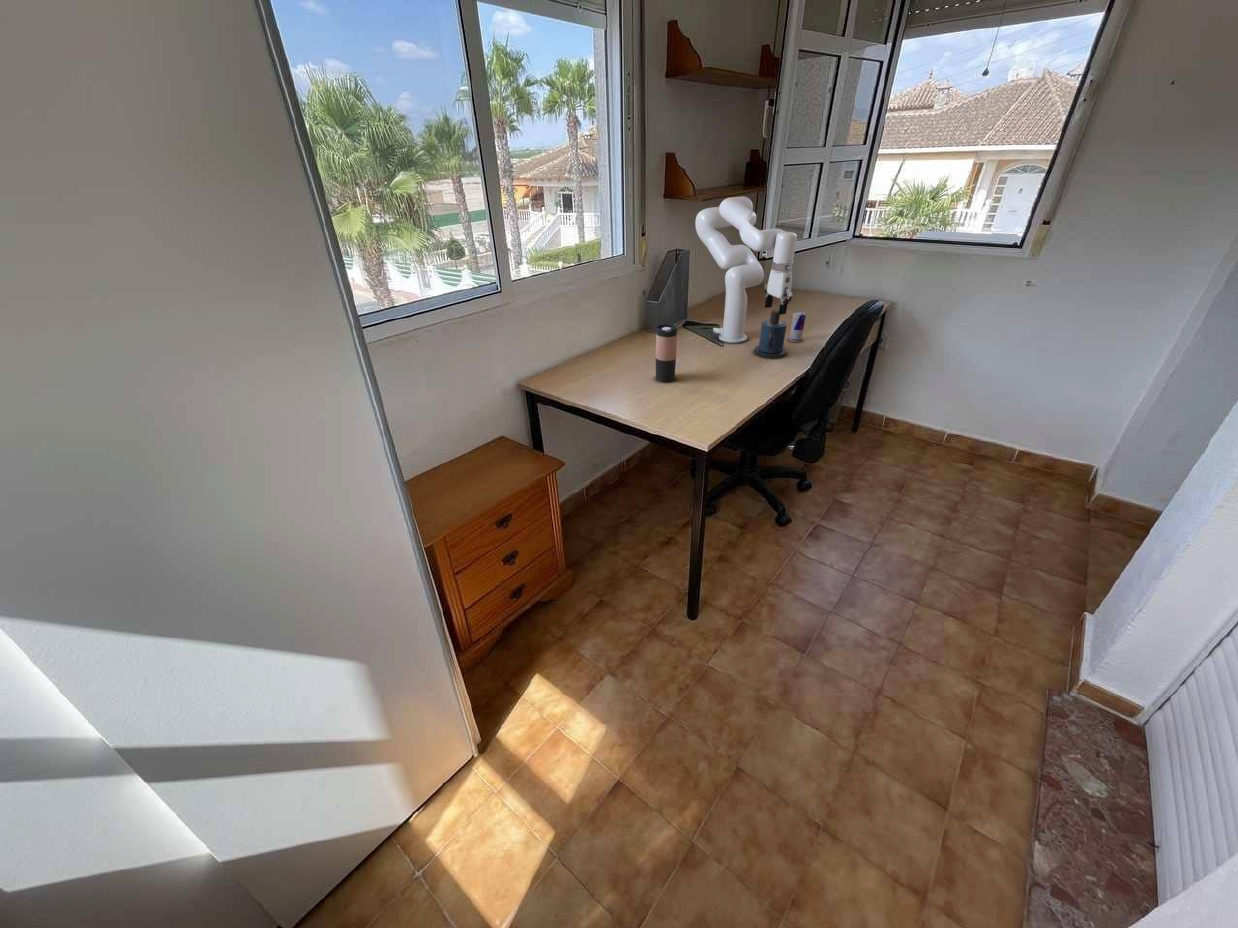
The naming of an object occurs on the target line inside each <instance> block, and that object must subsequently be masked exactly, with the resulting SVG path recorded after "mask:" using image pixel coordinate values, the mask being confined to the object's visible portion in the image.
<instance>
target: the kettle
mask: <svg viewBox="0 0 1238 928" xmlns="http://www.w3.org/2000/svg"><path fill="white" fill-rule="evenodd" d="M769 317H770V318H769V319H765V320H762V321H761V324H760V333H759V341H758V346H759V347H758V349H759V350H760V351H763V352H766V353H779V352H781V351H783V348H784V345H785V338H786V332H787V325H788V324H787V322H786V321H783V320H780V318H781V315H779V309H773V310H771V311H770V316H769Z"/></svg>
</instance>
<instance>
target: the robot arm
mask: <svg viewBox="0 0 1238 928" xmlns="http://www.w3.org/2000/svg"><path fill="white" fill-rule="evenodd" d="M753 205H754V204H753V202H752V200H751V199H750V198H749V197H748V196H733V197H731V196H730V197H726V198H724V199H723V200H722V201H721V203H720V204H719V206H714V207H713V206H712V207H706V208H704V209H702V210H700V211H699V212H697V214H696V217H695V222H694V223H695V231H696V234H697V236H698V238H699V239H700V241H701V242H702V243H703V245H704V246H705V247H706V248H707V250H708V251H709V253H710V255H711V256H712V258H713V260H714V261H715V262H716V264H717V265H718V267H719V268H720V269H721V270H724V271H726V272H725V275H724V286H725V301H724V312H723V324H722V327H720V328H719V327H713V329H712V332H713V333H714V334H719V335H718V340H720V341H722V342H724V343H728V344H740V343H743V342H746V341H747V340H748V336H747V335H746V334H745V326H746V319H747V318H746V317H747V308H748V301H749V299H748V295H747V292H746V289H748V288H752V287H757V286H759V285H760V284H761V283H763V281H764V278H765V273H764V268H763V267H762V264H761V263H760V261H759V260H758V259H757V257H756V256H755V254H754V253H753V251H755V252H765V251H773V257H772V263H771V270H770V273H769V277H768V280H767V283H765V284H764V294H765V295H764V297H765V302H764V308H765V309H768V308H769V309H770V308H772V307H773V302H774V297H775V298H776V299H779V301H780V304H779V307H778V310H779V315H780V316H781V315H786V314H787V311H788V305H789V304H790V302H791V301H792V299H793V297H794V295H793V293H792V286H793V272H792V269H793V263H794V258H795V251H796V245H797V240H798V235H797V233H795V232H794V231H785V230H783V229H781V228H767V229H761V230H760V229H758V228H757V227H756V226H755V224H756V223H757V214H756V212H755V211H753V209H754V206H753ZM732 226H733V227H734V228H735V229H737V230H738V231H739V236H740V240H741V241H742V243H743V244H731V243H730V242H729V241H728V240H727V238H726V236H725V235H724V234H723V233H721V232H720V231H718V230H717V229H725V228H729V227H732ZM752 250H753V251H752Z"/></svg>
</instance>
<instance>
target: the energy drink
mask: <svg viewBox="0 0 1238 928" xmlns="http://www.w3.org/2000/svg"><path fill="white" fill-rule="evenodd" d="M806 317H807V316H806V312H804V311H795V312H793V314H792V319H791V323H790V324H791V325H790V332H789V338H788V340H789V341H790V342H793V343H800V342H801V341H802V339H803V334H804V329H805V323H806Z"/></svg>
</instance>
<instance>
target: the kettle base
mask: <svg viewBox="0 0 1238 928" xmlns="http://www.w3.org/2000/svg"><path fill="white" fill-rule="evenodd" d="M758 347H759V345H756V346H755V347H754V351H753V352H754V355H755V356H757V357H759V358H764V359H773V360H774V359H775V360H776V359H781V358H784V357H785V356H786V355H787V349H786V348H785V347H783V351H781V352H779V353H766V352H763V351H760V350H759V349H758Z"/></svg>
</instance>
